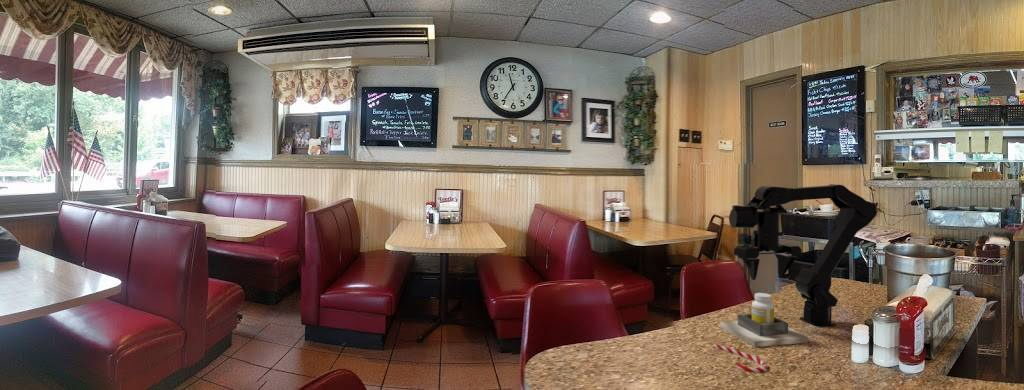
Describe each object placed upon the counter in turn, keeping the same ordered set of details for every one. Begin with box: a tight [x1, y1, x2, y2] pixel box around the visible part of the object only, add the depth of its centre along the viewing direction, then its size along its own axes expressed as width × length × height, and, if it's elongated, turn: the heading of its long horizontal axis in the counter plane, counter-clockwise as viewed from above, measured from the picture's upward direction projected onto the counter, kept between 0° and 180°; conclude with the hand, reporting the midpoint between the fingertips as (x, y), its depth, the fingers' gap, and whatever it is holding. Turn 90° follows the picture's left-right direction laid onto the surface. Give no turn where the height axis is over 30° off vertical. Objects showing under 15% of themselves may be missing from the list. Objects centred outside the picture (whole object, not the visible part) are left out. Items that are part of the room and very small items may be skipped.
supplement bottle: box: [751, 292, 775, 324], centre depth 117 cm, size 5×5×10 cm
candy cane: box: [712, 343, 769, 374], centre depth 103 cm, size 8×1×15 cm
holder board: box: [719, 313, 809, 348], centre depth 117 cm, size 16×14×4 cm
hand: (766, 279), depth 127 cm, fingers open, 9 cm apart
